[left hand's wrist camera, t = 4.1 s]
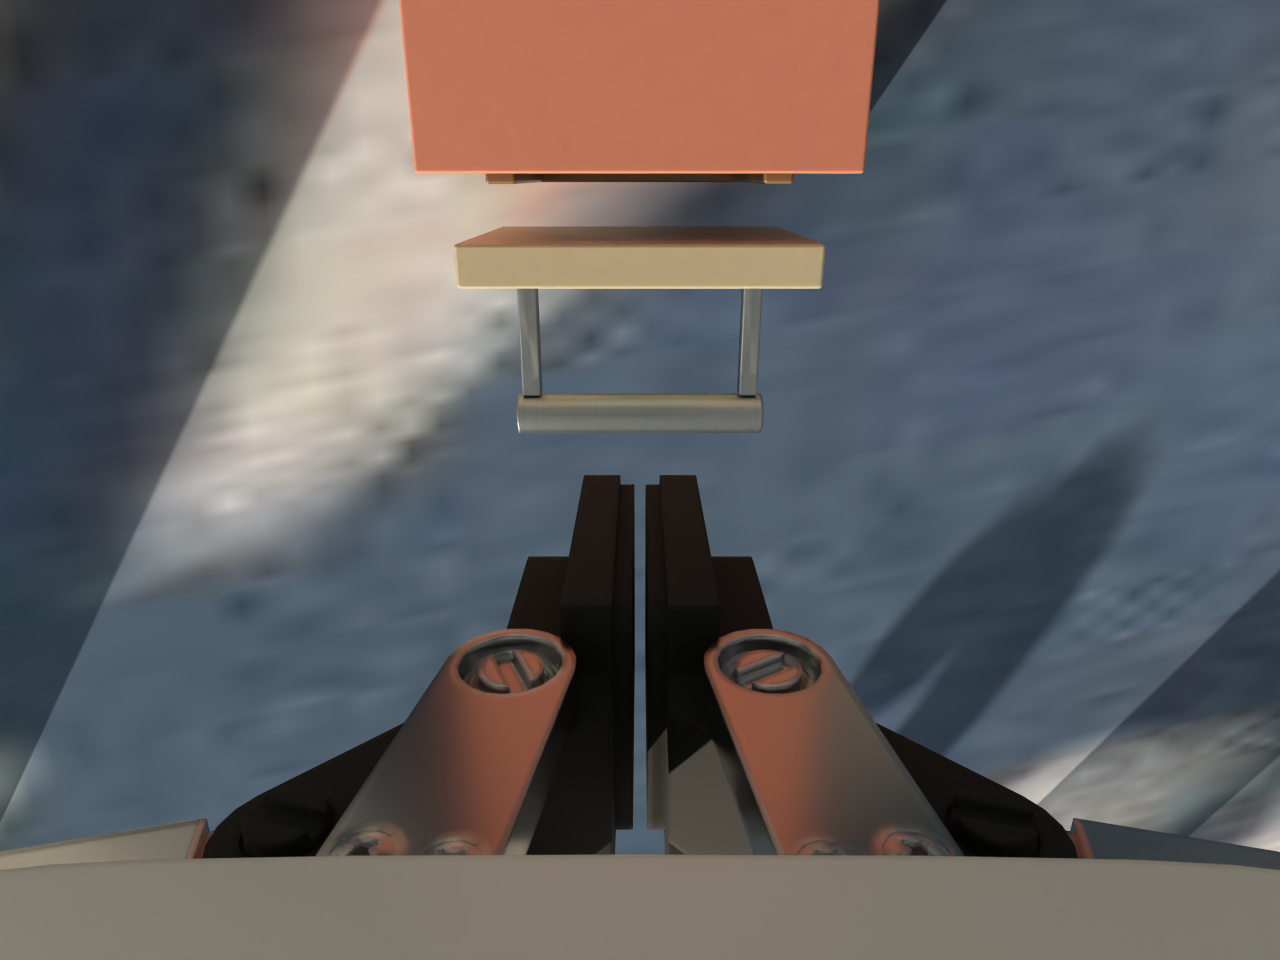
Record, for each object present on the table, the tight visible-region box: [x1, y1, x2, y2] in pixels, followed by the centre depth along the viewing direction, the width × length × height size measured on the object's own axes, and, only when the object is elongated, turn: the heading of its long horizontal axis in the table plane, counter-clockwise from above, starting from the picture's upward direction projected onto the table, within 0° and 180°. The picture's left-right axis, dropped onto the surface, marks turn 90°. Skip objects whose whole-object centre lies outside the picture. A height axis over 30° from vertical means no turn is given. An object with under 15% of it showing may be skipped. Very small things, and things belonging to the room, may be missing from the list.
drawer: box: [454, 173, 825, 433], centre depth 24 cm, size 24×10×8 cm, turn 0°
